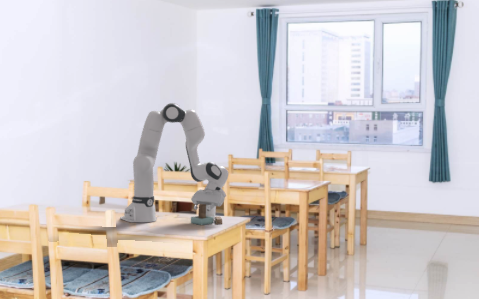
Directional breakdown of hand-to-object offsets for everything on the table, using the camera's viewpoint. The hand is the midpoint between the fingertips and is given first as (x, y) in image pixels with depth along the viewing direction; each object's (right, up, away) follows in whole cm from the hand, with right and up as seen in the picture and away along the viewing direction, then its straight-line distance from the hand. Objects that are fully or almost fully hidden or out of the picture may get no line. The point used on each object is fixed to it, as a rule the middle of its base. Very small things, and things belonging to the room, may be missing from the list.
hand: (201, 209), depth 340 cm
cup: (0, -8, +1) cm, 8 cm away
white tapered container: (+3, -7, +17) cm, 18 cm away
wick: (+9, -8, +5) cm, 13 cm away
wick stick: (0, -7, +1) cm, 7 cm away
